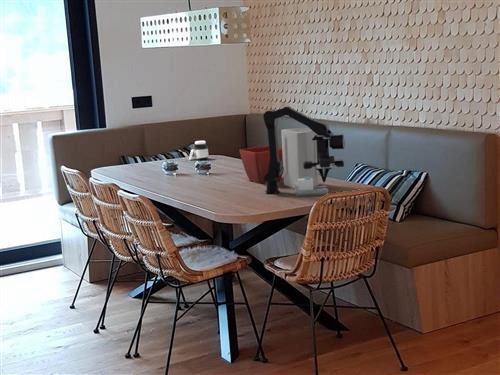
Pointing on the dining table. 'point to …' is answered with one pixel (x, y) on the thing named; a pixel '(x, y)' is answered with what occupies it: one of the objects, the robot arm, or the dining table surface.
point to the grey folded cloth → (311, 191)
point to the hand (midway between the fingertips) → (324, 182)
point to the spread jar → (200, 151)
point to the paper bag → (298, 155)
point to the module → (305, 183)
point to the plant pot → (258, 162)
